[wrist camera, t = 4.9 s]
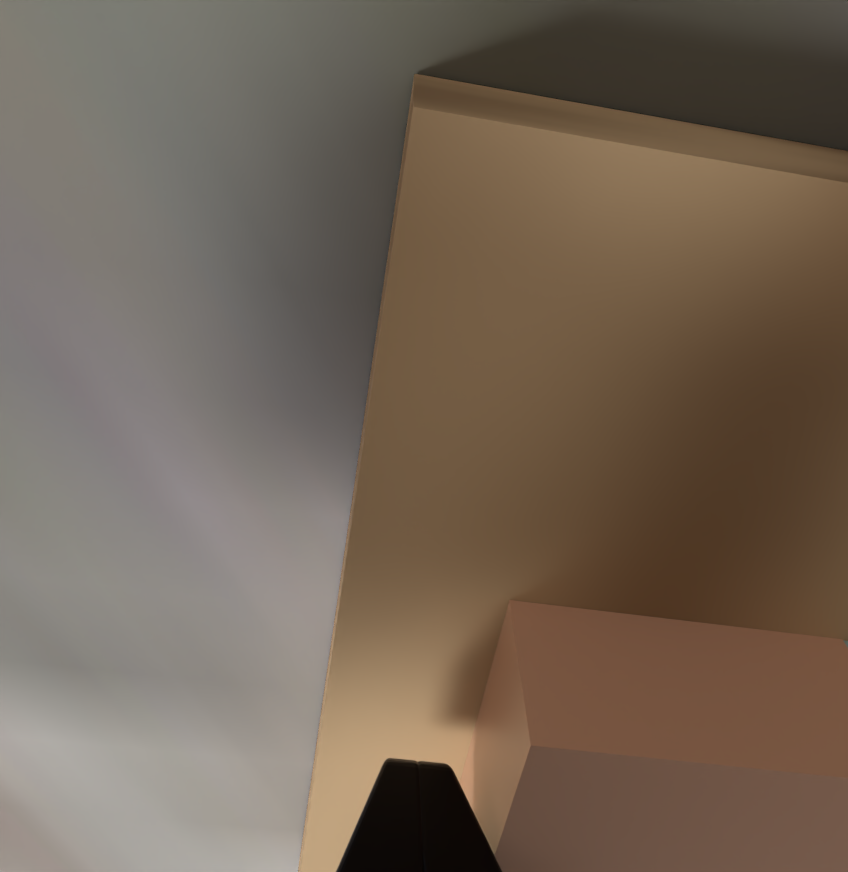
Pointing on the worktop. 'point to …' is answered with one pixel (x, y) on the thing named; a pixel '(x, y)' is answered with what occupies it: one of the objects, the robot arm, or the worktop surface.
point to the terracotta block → (660, 746)
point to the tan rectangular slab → (582, 408)
